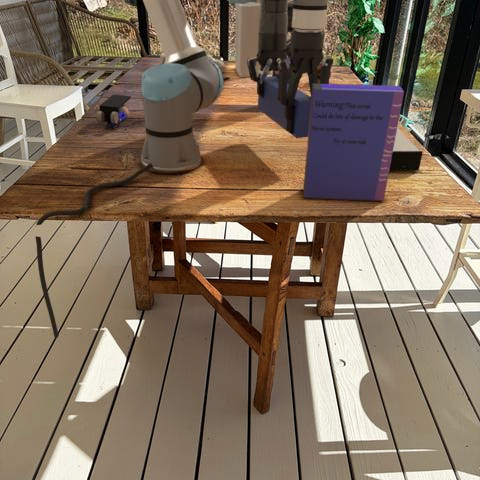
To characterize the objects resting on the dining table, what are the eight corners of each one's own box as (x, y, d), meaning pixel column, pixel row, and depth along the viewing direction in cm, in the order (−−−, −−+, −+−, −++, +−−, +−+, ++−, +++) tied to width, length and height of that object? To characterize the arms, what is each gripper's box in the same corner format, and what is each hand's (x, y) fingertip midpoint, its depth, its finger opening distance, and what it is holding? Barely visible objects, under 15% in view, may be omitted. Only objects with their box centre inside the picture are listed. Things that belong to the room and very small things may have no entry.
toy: (179, 75, 210) (178, 59, 206) (155, 65, 227) (154, 49, 224) (226, 69, 222) (226, 53, 218) (199, 60, 239) (199, 45, 235)
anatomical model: (319, 90, 206) (319, 91, 192) (304, 75, 205) (303, 75, 191) (340, 67, 202) (342, 66, 188) (325, 52, 201) (326, 50, 187)
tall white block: (273, 76, 210) (276, 6, 196) (239, 77, 209) (240, 6, 194) (266, 67, 226) (268, 2, 212) (235, 67, 225) (235, 1, 210)
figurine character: (119, 135, 145) (134, 115, 156) (115, 111, 140) (131, 93, 152) (98, 134, 145) (114, 114, 157) (93, 110, 141) (110, 92, 152)
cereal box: (379, 191, 109) (398, 84, 97) (383, 201, 105) (404, 90, 93) (303, 188, 110) (312, 82, 98) (304, 197, 106) (314, 88, 94)
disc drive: (349, 170, 120) (352, 151, 117) (332, 140, 139) (334, 123, 137) (418, 171, 120) (423, 152, 118) (392, 140, 140) (395, 124, 137)
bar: (313, 136, 117) (317, 100, 113) (296, 138, 116) (299, 101, 111) (272, 107, 139) (274, 76, 134) (257, 108, 137) (258, 77, 133)
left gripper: (335, 26, 112) (324, 123, 124) (265, 28, 107) (261, 129, 119) (351, 30, 106) (338, 132, 118) (278, 33, 101) (272, 139, 113)
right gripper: (292, 27, 130) (287, 91, 138) (242, 29, 125) (241, 94, 134) (304, 31, 123) (298, 97, 132) (252, 33, 119) (250, 101, 128)
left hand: (299, 130), depth 119 cm, fingers closed on bar, 5 cm apart
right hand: (269, 95), depth 133 cm, fingers closed on bar, 4 cm apart
